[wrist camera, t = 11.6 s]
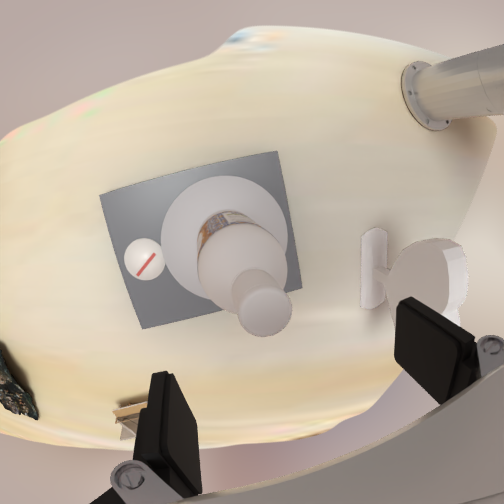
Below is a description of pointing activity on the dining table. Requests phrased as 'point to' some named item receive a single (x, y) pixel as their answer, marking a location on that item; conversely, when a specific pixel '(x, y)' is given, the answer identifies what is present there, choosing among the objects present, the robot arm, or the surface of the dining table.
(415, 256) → the heart sculpture
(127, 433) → the architectural model
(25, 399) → the decorative rock
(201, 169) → the dial scale
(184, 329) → the dining table surface
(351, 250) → the dining table surface
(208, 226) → the bath foam
